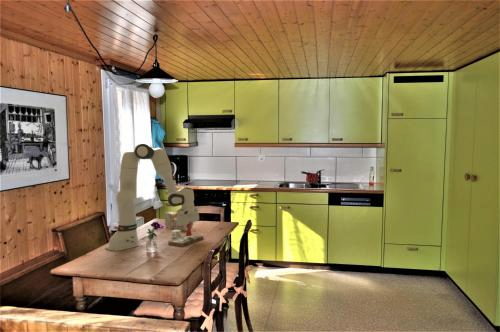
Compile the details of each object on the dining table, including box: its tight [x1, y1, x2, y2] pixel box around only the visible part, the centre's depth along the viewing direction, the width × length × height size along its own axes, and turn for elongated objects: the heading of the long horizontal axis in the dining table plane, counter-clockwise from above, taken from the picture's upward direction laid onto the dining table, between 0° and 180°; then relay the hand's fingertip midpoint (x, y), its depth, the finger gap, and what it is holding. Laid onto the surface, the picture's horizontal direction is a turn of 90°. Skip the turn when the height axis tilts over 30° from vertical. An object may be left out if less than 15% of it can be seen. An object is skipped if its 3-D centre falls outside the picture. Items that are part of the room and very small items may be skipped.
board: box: [167, 233, 204, 247], centre depth 273 cm, size 23×12×2 cm, turn 148°
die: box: [170, 229, 182, 239], centre depth 284 cm, size 5×5×5 cm
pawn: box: [185, 221, 193, 236], centre depth 274 cm, size 4×4×11 cm
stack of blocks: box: [164, 211, 186, 232], centre depth 311 cm, size 21×6×12 cm, turn 40°
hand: (188, 229), depth 274 cm, fingers closed on pawn, 3 cm apart
